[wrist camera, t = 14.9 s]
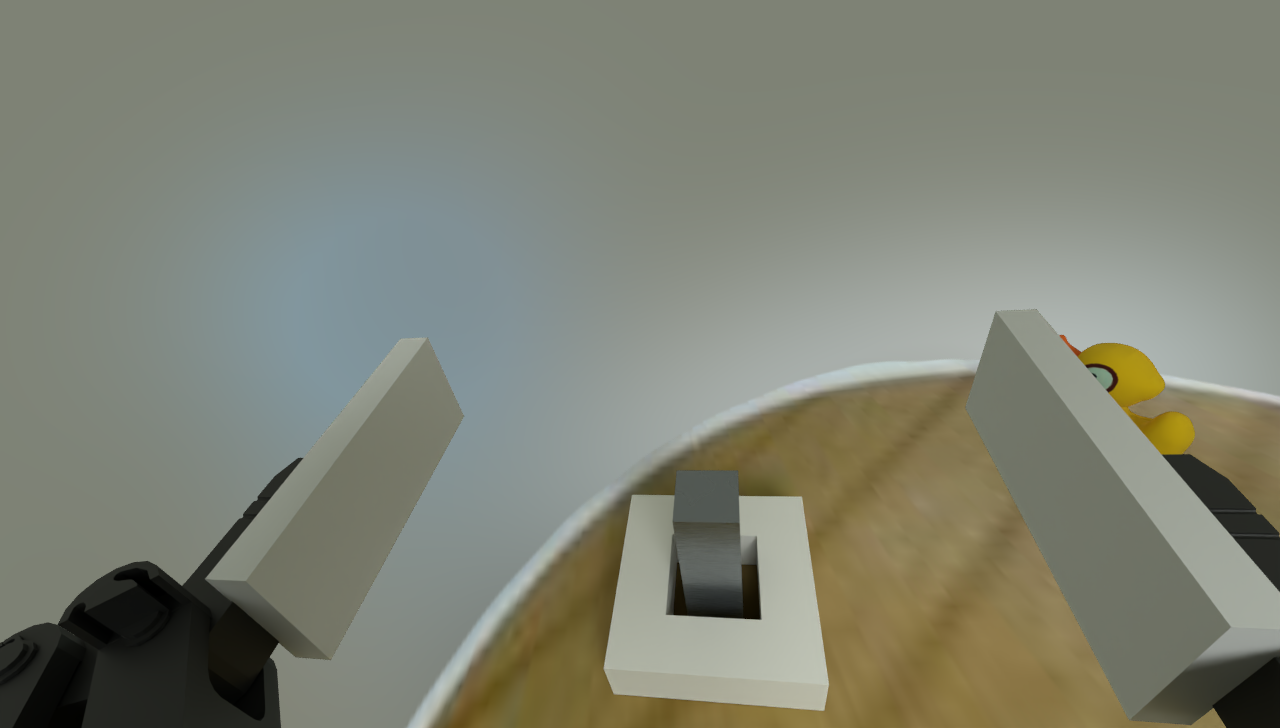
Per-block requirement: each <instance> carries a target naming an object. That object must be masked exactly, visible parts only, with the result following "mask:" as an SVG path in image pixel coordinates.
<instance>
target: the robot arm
mask: <svg viewBox="0 0 1280 728" xmlns="http://www.w3.org/2000/svg"><path fill="white" fill-rule="evenodd" d="M965 408H966V410H967V412H968V414H969V416H970V418H971V419H972V421H973V423H974V425H975V427H976V429H977V431H978V433H979V435H980V437H981V439H982V440H983V442H984V444H985V446H986V448H987V450H988V452H989V454H990V456H991V458H992V460H993V461H994V463H995V465H996V467H997V469H998V471H999V473H1000V475H1001V477H1002V479H1003V481H1004V482H1005V484H1006V486H1007V488H1008V490H1009V492H1010V494H1011V496H1012V498H1013V500H1014V502H1015V503H1016V505H1017V507H1018V509H1019V511H1020V513H1021V515H1022V517H1023V519H1024V521H1025V522H1026V524H1027V526H1028V528H1029V530H1030V532H1031V534H1032V536H1033V538H1034V540H1035V542H1036V543H1037V545H1038V547H1039V549H1040V551H1041V553H1042V555H1043V557H1044V559H1045V561H1046V563H1047V564H1048V566H1049V568H1050V570H1051V572H1052V574H1053V576H1054V578H1055V580H1056V582H1057V584H1058V585H1059V587H1060V589H1061V591H1062V593H1063V595H1064V597H1065V599H1066V601H1067V603H1068V605H1069V606H1070V608H1071V610H1072V612H1073V614H1074V616H1075V618H1076V620H1077V622H1078V624H1079V626H1080V627H1081V629H1082V631H1083V633H1084V635H1085V637H1086V639H1087V641H1088V643H1089V645H1090V646H1091V648H1092V650H1093V652H1094V654H1095V656H1096V658H1097V660H1098V662H1099V664H1100V666H1101V667H1102V669H1103V671H1104V673H1105V675H1106V677H1107V679H1108V681H1109V683H1110V685H1111V687H1112V688H1113V690H1114V692H1115V694H1116V696H1117V698H1118V700H1119V702H1120V704H1121V706H1122V708H1123V709H1124V711H1125V713H1126V715H1127V717H1128V719H1129V720H1133V721H1146V722H1159V723H1172V724H1186V725H1192V724H1193V723H1194V722H1196V721H1197V720H1198V719H1199V718H1201V717H1202V716H1203V715H1205V714H1206V713H1207V712H1209V711H1210V710H1211V709H1212V708H1214V709H1215V711H1216V712H1217V714H1218V715H1219V717H1220V718H1221V720H1222V721H1223V723H1224V725H1225V726H1226V728H1280V537H1279V532H1278V531H1277V530H1276V529H1275V528H1274V527H1273V526H1272V525H1271V524H1270V523H1269V522H1268V521H1267V520H1266V519H1265V518H1264V516H1263V515H1258V514H1257V513H1256V508H1255V507H1254V506H1253V505H1252V504H1251V503H1250V502H1249V501H1248V500H1247V499H1246V497H1245V496H1244V495H1243V494H1242V493H1241V492H1240V491H1239V490H1238V489H1237V488H1236V487H1235V486H1234V485H1233V484H1232V483H1231V482H1230V481H1229V479H1227V478H1226V477H1224V476H1222V475H1221V474H1219V473H1218V472H1216V471H1215V470H1213V469H1212V468H1210V467H1209V466H1207V465H1206V464H1204V463H1202V462H1201V461H1199V460H1198V459H1196V458H1195V457H1193V456H1192V455H1190V454H1160V452H1159V451H1158V450H1157V449H1156V448H1155V447H1154V445H1153V444H1152V443H1151V442H1150V441H1149V440H1148V438H1147V437H1146V436H1145V435H1144V434H1143V433H1142V431H1141V430H1140V429H1139V428H1138V427H1137V426H1136V424H1135V423H1134V422H1133V421H1132V420H1131V419H1130V418H1129V416H1128V415H1127V414H1126V413H1125V412H1124V411H1123V409H1122V408H1121V407H1120V406H1119V405H1118V404H1117V402H1116V401H1115V400H1114V399H1113V398H1112V397H1111V395H1110V394H1109V393H1108V392H1107V391H1106V390H1105V388H1104V387H1103V386H1102V385H1101V384H1100V383H1099V381H1098V380H1097V379H1096V378H1095V377H1094V376H1093V374H1092V373H1091V372H1090V371H1089V370H1088V369H1087V368H1086V366H1085V365H1084V364H1083V363H1082V362H1081V361H1080V359H1079V358H1078V357H1077V356H1076V355H1075V354H1074V352H1073V351H1072V350H1071V349H1070V348H1069V347H1068V345H1067V344H1066V343H1065V342H1064V341H1063V340H1062V338H1061V337H1060V336H1059V335H1058V334H1057V333H1056V332H1055V330H1054V329H1053V328H1052V327H1051V326H1050V324H1048V322H1047V321H1046V320H1045V319H1044V318H1043V316H1042V315H1041V314H1040V313H1039V312H1038V311H1037V309H1033V310H1011V311H996V313H995V315H994V319H993V322H992V325H991V328H990V331H989V334H988V338H987V341H986V344H985V347H984V350H983V353H982V357H981V360H980V363H979V366H978V369H977V372H976V375H975V379H974V382H973V385H972V388H971V391H970V394H969V398H968V401H967V404H966V407H965ZM463 417H464V415H463V413H462V411H461V409H460V407H459V404H458V402H457V400H456V398H455V396H454V393H453V391H452V389H451V387H450V385H449V383H448V380H447V379H446V376H445V374H444V372H443V370H442V368H441V365H440V363H439V361H438V359H437V357H436V355H435V352H434V350H433V348H432V346H431V344H430V342H429V339H428V338H408V339H400V340H399V341H398V343H397V344H396V345H395V346H394V348H393V349H392V350H391V351H390V353H389V354H388V355H387V356H386V358H385V359H384V360H383V361H382V362H381V363H380V365H379V366H378V367H377V368H376V370H375V371H374V372H373V373H372V375H371V376H370V377H369V378H368V379H367V381H366V382H365V383H364V385H363V386H362V387H361V388H360V389H359V391H358V392H357V393H356V394H355V396H354V397H353V398H352V399H351V400H350V402H349V403H348V404H347V405H346V406H345V408H344V409H343V410H342V411H341V413H340V414H339V415H338V417H337V418H336V419H335V420H334V421H333V422H332V424H331V425H330V426H329V427H328V429H327V430H326V431H325V432H324V434H323V435H322V436H321V437H320V438H319V440H318V441H317V442H316V443H315V445H314V446H313V447H312V448H311V450H310V451H309V452H308V453H307V454H306V456H305V457H304V458H298V459H296V460H295V461H294V462H293V463H291V464H290V465H289V466H288V467H286V468H285V469H284V470H282V471H281V472H280V473H278V474H277V475H276V476H275V477H274V478H273V479H272V480H271V482H270V483H269V484H268V485H267V486H266V487H265V489H264V490H263V491H262V492H261V493H260V495H259V496H258V500H257V501H254V502H253V503H252V504H251V505H250V506H249V508H248V509H247V510H246V511H245V512H244V514H243V518H242V519H239V520H238V521H237V522H236V523H235V524H234V525H233V527H232V528H231V529H230V530H229V531H228V533H227V534H226V535H225V536H224V537H223V539H222V540H221V541H220V542H219V543H218V545H217V546H216V547H215V548H214V549H213V551H212V552H211V553H210V554H209V555H208V557H207V558H206V559H205V560H204V561H203V562H202V564H201V565H200V566H199V567H198V569H197V570H196V571H195V572H194V573H193V574H192V575H191V577H190V578H189V579H188V580H187V581H186V583H184V585H183V586H181V585H180V584H178V583H177V582H176V581H175V580H174V579H173V578H171V577H170V576H169V575H167V574H166V573H165V572H164V571H163V570H161V569H160V568H159V567H158V566H157V565H155V564H153V563H150V562H148V561H144V562H134V563H131V564H128V565H125V566H122V567H120V568H117V569H115V570H113V571H111V572H110V573H108V574H106V575H105V576H103V577H101V578H100V579H98V580H96V581H95V582H94V583H93V584H91V585H90V586H89V587H88V588H86V589H85V590H84V591H83V592H81V593H80V594H79V595H78V596H77V597H76V598H75V600H74V601H73V602H72V603H71V604H70V605H69V606H68V607H67V609H66V610H65V612H64V614H63V616H62V617H61V619H60V621H59V623H58V625H56V624H52V623H44V624H39V625H34V626H32V627H29V628H27V629H25V630H23V631H21V632H18V633H16V634H14V635H13V636H11V637H10V638H8V639H6V640H5V641H4V642H1V643H0V728H281V723H280V709H279V694H278V678H277V669H276V666H275V663H274V661H273V660H272V659H271V658H270V655H271V654H272V652H273V651H274V649H275V648H276V646H277V645H278V643H280V644H281V645H282V646H283V647H285V649H287V650H288V651H289V652H290V653H291V654H293V655H294V656H295V657H299V658H312V659H325V660H331V659H332V657H333V655H334V653H335V651H336V649H337V648H338V646H339V644H340V642H341V641H342V639H343V637H344V635H345V633H346V631H347V630H348V628H349V626H350V624H351V622H352V620H353V619H354V617H355V615H356V613H357V611H358V609H359V607H360V605H361V604H362V602H363V600H364V598H365V596H366V595H367V593H368V591H369V589H370V587H371V586H372V584H373V582H374V580H375V578H376V576H377V574H378V573H379V571H380V569H381V567H382V565H383V564H384V562H385V560H386V558H387V556H388V554H389V553H390V551H391V549H392V547H393V545H394V544H395V542H396V540H397V537H398V536H399V534H400V532H401V531H402V528H403V527H404V525H405V523H406V522H407V520H408V518H409V516H410V514H411V512H412V511H413V509H414V507H415V505H416V503H417V501H418V500H419V498H420V496H421V494H422V492H423V490H424V489H425V487H426V485H427V483H428V481H429V479H430V478H431V476H432V474H433V471H434V470H435V468H436V467H437V465H438V463H439V461H440V459H441V457H442V456H443V454H444V452H445V450H446V448H447V447H448V445H449V443H450V441H451V439H452V437H453V436H454V434H455V432H456V430H457V428H458V426H459V425H460V423H461V421H462V419H463ZM60 626H61V627H60ZM68 631H69V632H68ZM73 634H74V635H73Z"/></svg>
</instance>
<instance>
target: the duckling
mask: <svg viewBox="0 0 1280 728" xmlns="http://www.w3.org/2000/svg"><path fill="white" fill-rule="evenodd" d="M1059 336H1060V337H1061V338H1062V340H1063V341H1064V342H1065V343H1066V344H1067V345H1068V347H1069V348H1070V349H1071V350H1072V351H1073V352H1074V354H1075V355H1076V356H1077V357H1078V358H1079V359H1080V361H1081V362H1082V363H1083V364H1084V365H1085V366H1086V368H1087V369H1088V370H1089V371H1090V372H1091V373H1092V374H1093V376H1094V377H1095V378H1096V379H1097V380H1098V381H1099V383H1100V384H1101V385H1102V386H1103V387H1104V388H1105V390H1106V391H1107V392H1108V393H1109V394H1110V395H1111V397H1112V398H1113V399H1114V400H1115V401H1116V402H1117V404H1118V405H1119V406H1120V407H1121V408H1122V409H1123V411H1124V412H1125V413H1126V414H1127V415H1128V416H1129V418H1130V419H1131V420H1132V421H1133V422H1134V423H1135V424H1136V426H1137V427H1138V428H1139V429H1140V430H1141V431H1142V433H1143V434H1144V435H1145V436H1146V437H1147V438H1148V440H1149V441H1150V442H1151V443H1152V444H1153V445H1154V447H1155V448H1156V449H1157V450H1158V451H1159V452H1160V454H1183V453H1184V452H1185V451H1186V449H1187V448H1188V447H1189V446H1190V445H1191V443H1192V442H1193V440H1194V437H1195V431H1194V428H1193V425H1192V422H1191V421H1190V419H1189V418H1188V417H1187V416H1185V415H1183V414H1181V413H1179V412H1166V413H1163V414H1161V415H1159V416H1157V417H1155V418H1154V419H1151V418H1146V417H1142V416H1139V415H1136V414H1134V413H1132V412H1131V411H1130V410H1129V408H1128V406H1131V405H1133V404H1136V403H1138V402H1141V401H1145V400H1149V399H1152V398H1154V397H1156V396H1157V395H1158V394H1160V393H1161V392H1162V391H1163V390H1164V388H1165V382H1164V380H1163V378H1162V377H1161V376H1160V374H1159V373H1158V371H1157V369H1156V368H1155V366H1154V365H1153V363H1152V362H1151V361H1150V359H1149V358H1148V357H1147V356H1146V355H1145V354H1143V353H1142V352H1141V351H1139V350H1137V349H1135V348H1133V347H1131V346H1128V345H1123V344H1118V343H1101V344H1096V345H1093V346H1091V347H1089V348H1087V349H1086V350H1084V351H1083V352H1080V351H1079V350H1077V349H1076V348H1074V347H1073V346H1072V345H1070V344H1069V343H1068V341H1067V339H1066V337H1065V336H1064V335H1059Z"/></svg>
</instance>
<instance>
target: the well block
mask: <svg viewBox="0 0 1280 728" xmlns="http://www.w3.org/2000/svg"><path fill="white" fill-rule="evenodd" d="M674 497H675V495H632V499H631V505H630V511H629V517H628V523H627V529H626V535H625V541H624V548H623V554H622V560H621V566H620V572H619V578H618V584H617V590H616V597H615V603H614V609H613V615H612V621H611V627H610V633H609V639H608V645H607V652H606V658H605V664H604V671H605V673H606V676H607V678H608V681H609V683H610V686H611V688H612V691H613V693H614V694H620V695H633V696H645V697H658V698H670V699H683V700H695V701H708V702H720V703H733V704H745V705H758V706H770V707H783V708H795V709H808V710H820V711H824V708H825V703H826V697H827V692H828V687H829V682H828V675H827V669H826V662H825V655H824V648H823V641H822V634H821V627H820V620H819V613H818V606H817V599H816V592H815V585H814V578H813V571H812V564H811V557H810V550H809V543H808V536H807V530H806V523H805V516H804V509H803V502H802V497H784V496H739V511H740V537H741V564H744V565H757V575H758V593H759V611H760V620H754V619H735V618H715V617H696V616H676V615H673V613H674V600H675V586H676V572H677V562H679V559H678V553H677V547H676V540H675V534H674V528H673V522H672V521H673V509H674Z"/></svg>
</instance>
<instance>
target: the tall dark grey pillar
mask: <svg viewBox="0 0 1280 728" xmlns="http://www.w3.org/2000/svg"><path fill="white" fill-rule="evenodd" d="M672 522H673V528H674V534H675V540H676V547H677V553H678V559H679V565H680V571H681V577H682V583H683V589H684V595H685V601H686V607H687V614H688V616H696V617H715V618H735V619H743V592H742V564H741V537H740V511H739V484H738V471H677V473H676V485H675V497H674V509H673V521H672Z"/></svg>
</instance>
